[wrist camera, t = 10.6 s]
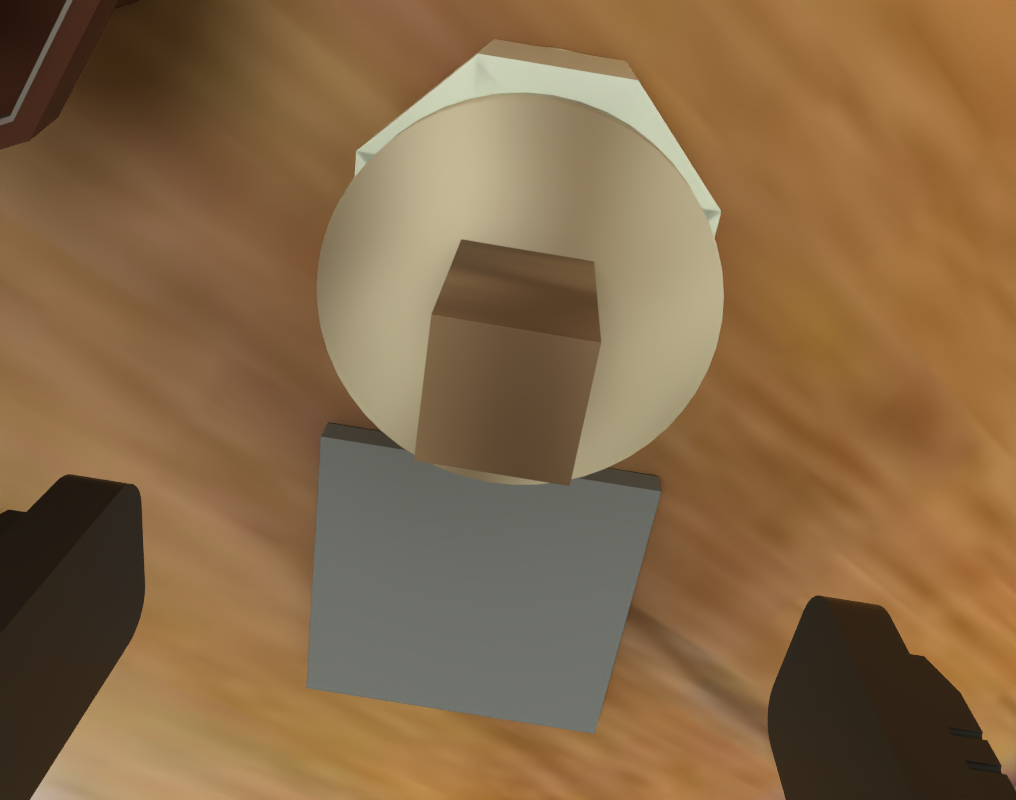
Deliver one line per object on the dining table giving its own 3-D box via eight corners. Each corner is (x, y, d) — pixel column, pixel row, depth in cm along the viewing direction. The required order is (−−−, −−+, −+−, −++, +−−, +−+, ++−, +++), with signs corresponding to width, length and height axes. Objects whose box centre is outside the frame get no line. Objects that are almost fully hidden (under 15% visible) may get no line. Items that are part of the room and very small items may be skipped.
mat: (313, 670, 36) (306, 688, 35) (327, 422, 30) (321, 436, 30) (593, 714, 36) (594, 733, 35) (658, 476, 31) (661, 491, 30)
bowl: (379, 313, 28) (340, 384, 24) (405, 21, 24) (364, 34, 20) (645, 356, 29) (661, 436, 24) (714, 73, 25) (751, 99, 20)
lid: (319, 431, 24) (245, 566, 19) (340, 59, 20) (252, 92, 14) (664, 488, 24) (693, 638, 19) (764, 130, 20) (840, 191, 14)
